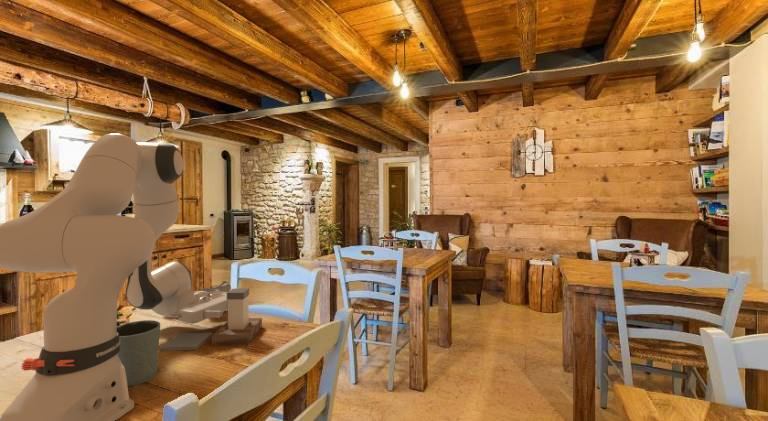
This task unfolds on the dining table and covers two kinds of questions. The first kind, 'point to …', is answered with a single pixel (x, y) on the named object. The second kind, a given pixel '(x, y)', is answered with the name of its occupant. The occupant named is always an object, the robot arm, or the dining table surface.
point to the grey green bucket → (139, 350)
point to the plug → (238, 309)
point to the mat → (186, 341)
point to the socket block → (237, 334)
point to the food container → (220, 288)
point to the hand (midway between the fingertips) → (232, 309)
